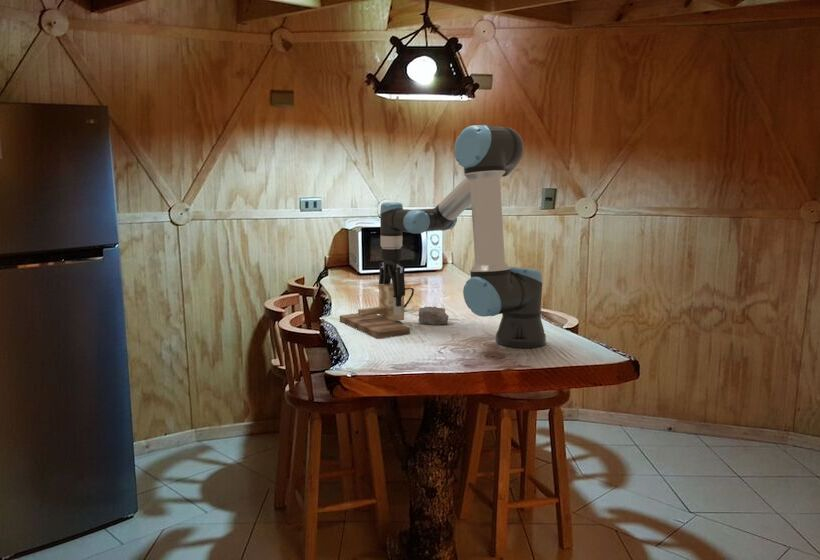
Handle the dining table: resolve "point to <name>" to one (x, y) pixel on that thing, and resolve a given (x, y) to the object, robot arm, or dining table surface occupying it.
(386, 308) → the beige block with bar
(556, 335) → the dining table surface
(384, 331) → the board
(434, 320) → the stone
